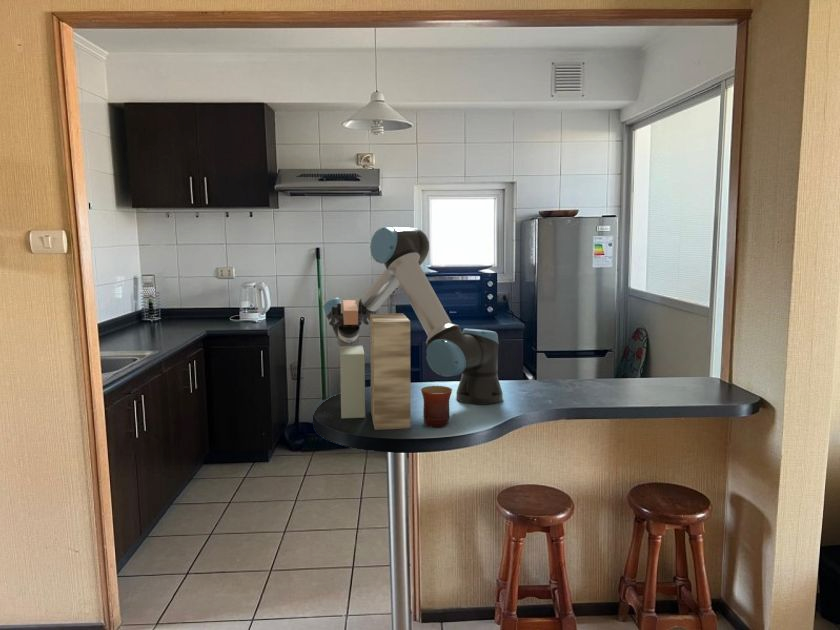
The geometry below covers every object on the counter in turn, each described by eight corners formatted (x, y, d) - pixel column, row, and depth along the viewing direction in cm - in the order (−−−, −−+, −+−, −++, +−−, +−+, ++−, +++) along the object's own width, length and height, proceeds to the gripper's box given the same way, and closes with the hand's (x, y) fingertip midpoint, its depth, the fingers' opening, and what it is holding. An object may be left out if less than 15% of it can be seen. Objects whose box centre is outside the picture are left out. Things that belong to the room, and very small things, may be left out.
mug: (456, 427, 168) (457, 391, 166) (427, 431, 164) (427, 394, 163) (440, 415, 179) (440, 382, 177) (412, 418, 176) (412, 384, 174)
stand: (370, 411, 183) (369, 313, 179) (403, 410, 185) (403, 313, 181) (374, 429, 166) (373, 322, 162) (410, 428, 167) (410, 321, 163)
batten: (343, 312, 198) (343, 300, 197) (355, 312, 198) (355, 300, 198) (343, 324, 170) (343, 310, 170) (358, 324, 171) (358, 310, 170)
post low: (340, 405, 190) (340, 346, 187) (363, 404, 191) (362, 345, 188) (341, 418, 176) (340, 354, 174) (365, 417, 177) (364, 354, 175)
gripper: (373, 338, 209) (377, 312, 188) (324, 338, 207) (322, 312, 185) (372, 318, 212) (376, 290, 190) (323, 318, 209) (322, 290, 188)
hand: (349, 301), depth 188 cm, fingers closed on batten, 4 cm apart
